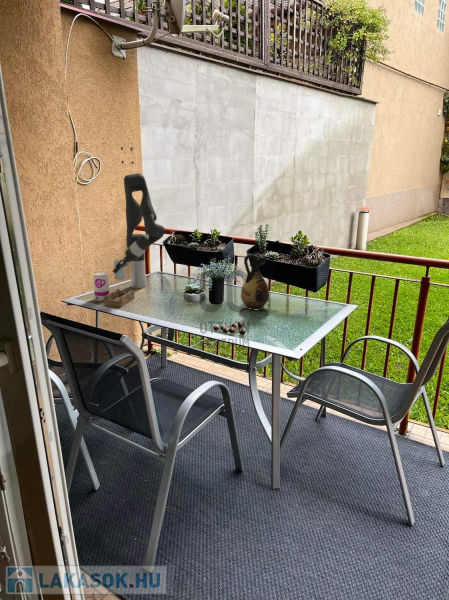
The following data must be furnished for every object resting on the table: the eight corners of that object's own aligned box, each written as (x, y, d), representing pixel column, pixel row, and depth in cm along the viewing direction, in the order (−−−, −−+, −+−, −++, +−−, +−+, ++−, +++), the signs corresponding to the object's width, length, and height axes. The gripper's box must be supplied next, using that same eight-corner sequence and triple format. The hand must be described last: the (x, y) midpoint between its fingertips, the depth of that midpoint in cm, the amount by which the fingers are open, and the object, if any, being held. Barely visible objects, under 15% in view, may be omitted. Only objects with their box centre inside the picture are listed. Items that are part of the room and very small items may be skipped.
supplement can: (107, 301, 251) (105, 275, 246) (93, 301, 251) (91, 275, 246) (111, 297, 258) (109, 272, 254) (97, 297, 258) (95, 272, 254)
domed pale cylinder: (118, 276, 249) (117, 259, 246) (127, 277, 247) (126, 260, 244) (112, 279, 244) (111, 261, 241) (121, 280, 242) (120, 262, 239)
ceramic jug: (261, 302, 253) (264, 250, 244) (272, 311, 239) (275, 256, 230) (233, 305, 248) (234, 252, 239) (243, 313, 234) (244, 258, 225)
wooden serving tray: (118, 297, 258) (117, 288, 257) (134, 298, 256) (133, 290, 254) (104, 305, 244) (104, 296, 242) (121, 307, 241) (120, 298, 240)
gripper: (136, 243, 245) (117, 263, 251) (125, 248, 232) (105, 268, 238) (145, 253, 245) (126, 272, 252) (134, 258, 232) (115, 279, 238)
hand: (116, 270), depth 245 cm, fingers closed on domed pale cylinder, 5 cm apart
